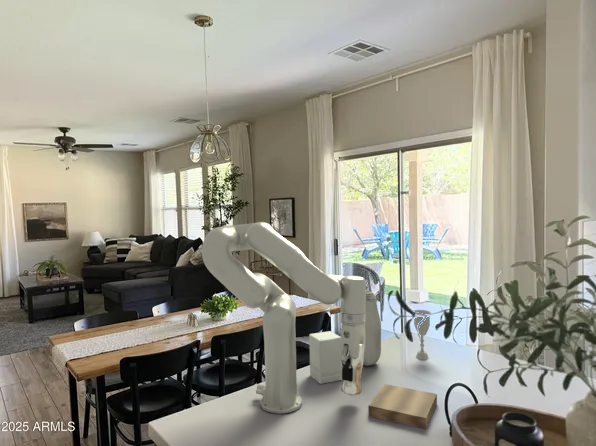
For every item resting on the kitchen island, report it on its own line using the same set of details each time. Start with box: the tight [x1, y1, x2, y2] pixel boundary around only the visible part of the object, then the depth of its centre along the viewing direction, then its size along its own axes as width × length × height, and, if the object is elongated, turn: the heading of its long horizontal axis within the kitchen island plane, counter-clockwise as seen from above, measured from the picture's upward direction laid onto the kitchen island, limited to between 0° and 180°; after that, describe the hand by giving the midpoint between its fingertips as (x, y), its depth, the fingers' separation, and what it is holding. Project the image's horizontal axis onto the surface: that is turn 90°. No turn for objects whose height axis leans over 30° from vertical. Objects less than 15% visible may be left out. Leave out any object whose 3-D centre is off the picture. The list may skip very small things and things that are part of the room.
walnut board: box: [367, 383, 438, 430], centre depth 120 cm, size 16×16×3 cm
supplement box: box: [308, 330, 343, 385], centre depth 144 cm, size 9×9×15 cm
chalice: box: [413, 309, 432, 361], centre depth 161 cm, size 7×7×18 cm
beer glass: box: [340, 342, 364, 396], centre depth 124 cm, size 7×7×15 cm
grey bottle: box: [363, 290, 382, 367], centre depth 155 cm, size 10×10×28 cm
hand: (351, 375), depth 124 cm, fingers closed on beer glass, 6 cm apart
